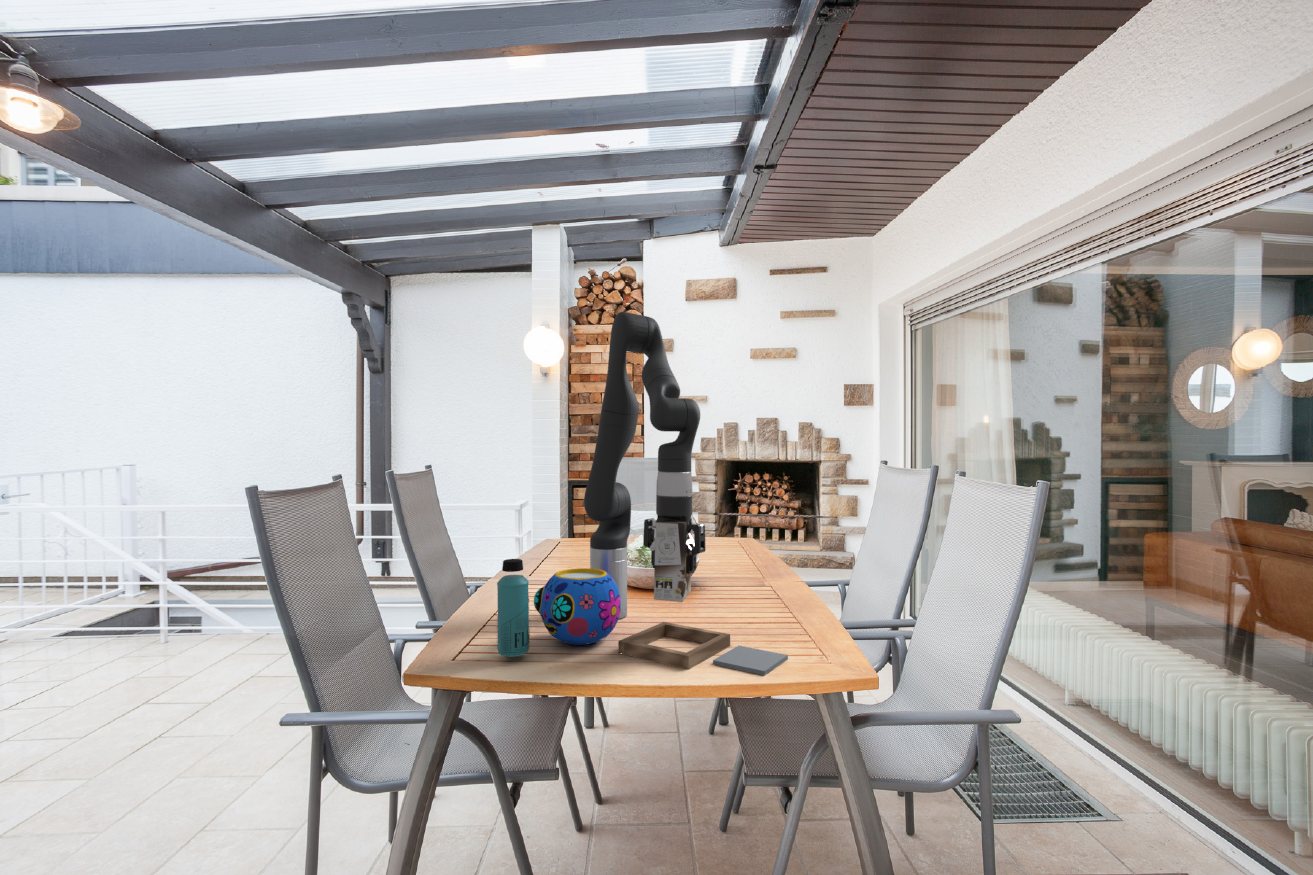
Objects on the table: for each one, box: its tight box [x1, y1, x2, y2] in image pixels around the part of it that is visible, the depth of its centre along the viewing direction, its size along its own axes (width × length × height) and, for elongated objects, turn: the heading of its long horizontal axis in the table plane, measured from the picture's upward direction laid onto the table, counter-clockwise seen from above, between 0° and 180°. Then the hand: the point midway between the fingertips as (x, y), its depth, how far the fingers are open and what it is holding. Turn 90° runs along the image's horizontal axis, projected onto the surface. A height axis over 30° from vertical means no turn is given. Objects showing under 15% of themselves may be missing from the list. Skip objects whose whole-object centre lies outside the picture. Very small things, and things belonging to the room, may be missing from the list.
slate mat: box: [712, 645, 789, 676], centre depth 129 cm, size 11×11×1 cm
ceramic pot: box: [533, 567, 621, 646], centre depth 142 cm, size 18×18×15 cm
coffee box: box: [653, 517, 693, 603], centre depth 137 cm, size 9×6×16 cm
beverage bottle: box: [496, 558, 531, 657], centre depth 131 cm, size 6×7×20 cm
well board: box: [617, 621, 731, 670], centre depth 137 cm, size 17×17×2 cm
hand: (673, 570), depth 137 cm, fingers closed on coffee box, 8 cm apart
